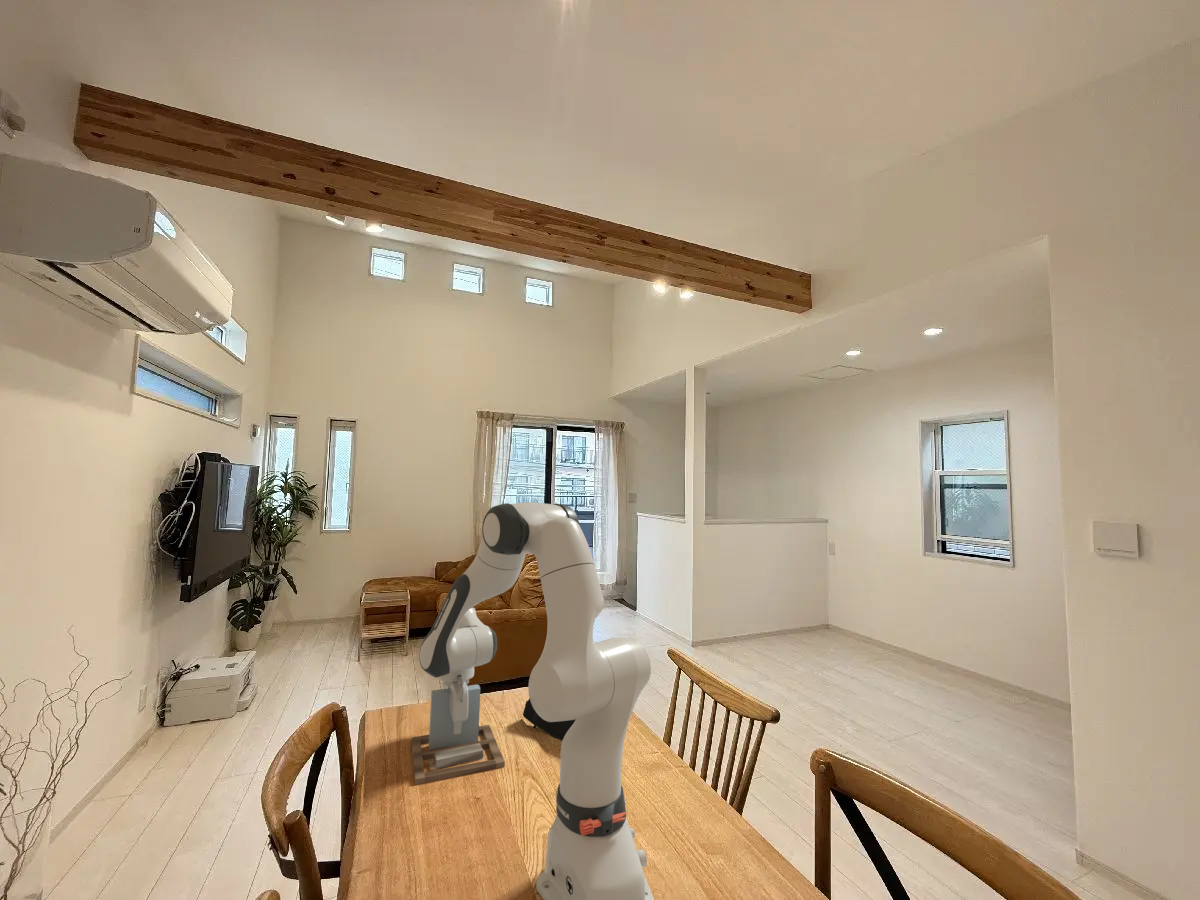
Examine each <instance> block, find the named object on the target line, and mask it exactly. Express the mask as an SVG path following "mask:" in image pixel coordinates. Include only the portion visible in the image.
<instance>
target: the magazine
mask: <svg viewBox="0 0 1200 900" xmlns="http://www.w3.org/2000/svg"><path fill="white" fill-rule="evenodd" d="M522 712H523V713H522V716H523V718H524V719H526V720H527V721H528V722H529V723H530V724H532V725H533V729H534V728H537V729H540V730H541V731H543V732H544V733H546V734H548V735H549V736H551V737H552V738H555V739H557V740H559V741H561V742H562V741H563V738H564V736H565V734H566V733H567V731H568V730H569V729H570V727H571V726H572V725H573V723H574V722H575V720H576V719H574V720H568V721H559V722H548V721H545V720H544V719H542V718H541V717H540V716H539V715H538V714H537V713H536V711H535V710H534V708H533V706H532V704H531V701H530V698H528V700H526V701H525V705H524V708H523V711H522Z"/></svg>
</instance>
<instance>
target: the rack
mask: <svg viewBox="0 0 1200 900" xmlns="http://www.w3.org/2000/svg"><path fill="white" fill-rule="evenodd" d="M478 735H483V738H484V739H482V740H478V741H476V742H471V743H465V744H459V745H453V746H448V747H442V748H436V749H431V750H429V749H427V750H422V745H423V744H429V734H424V735H418V736H412V737H411V741H410V743H411V753H412V755H411V756H412V764H413V765H412V766H413V776H414V784H415V786H416V785H422V784H427V783H431V782H436V781H440V780H441V781H442V780H446V779H452V778H455V777H456V778H457V777H461V776H466V775H471V774H472V775H473V774H477V773H483V772H486V771H491V770H496V769H501V768H505V767H506V764H505V763H506V761H505V758H504V757H503V754H502V751H501V750H500V748H499V744H498V742H497V740H496V738H495V736H494V733H493V730H492V728H491V726H490V724H484V725H479V733H478ZM478 743H480V745H481V747H482V749H483V750H484V749H488V752H489V753H490V755H491V759H489V760H484V761H483V760H482V761H479V762H474V763H473V762H472V763H466V764H461V765H458V766H457V765H456V766H451V767H445V768H440V769H435V770H430V771H425V768H424V760H429V759H434V753H435V752H440V751H445V750H450V749H454V748H459V747H464V746H469V745H473V744H478Z"/></svg>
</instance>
